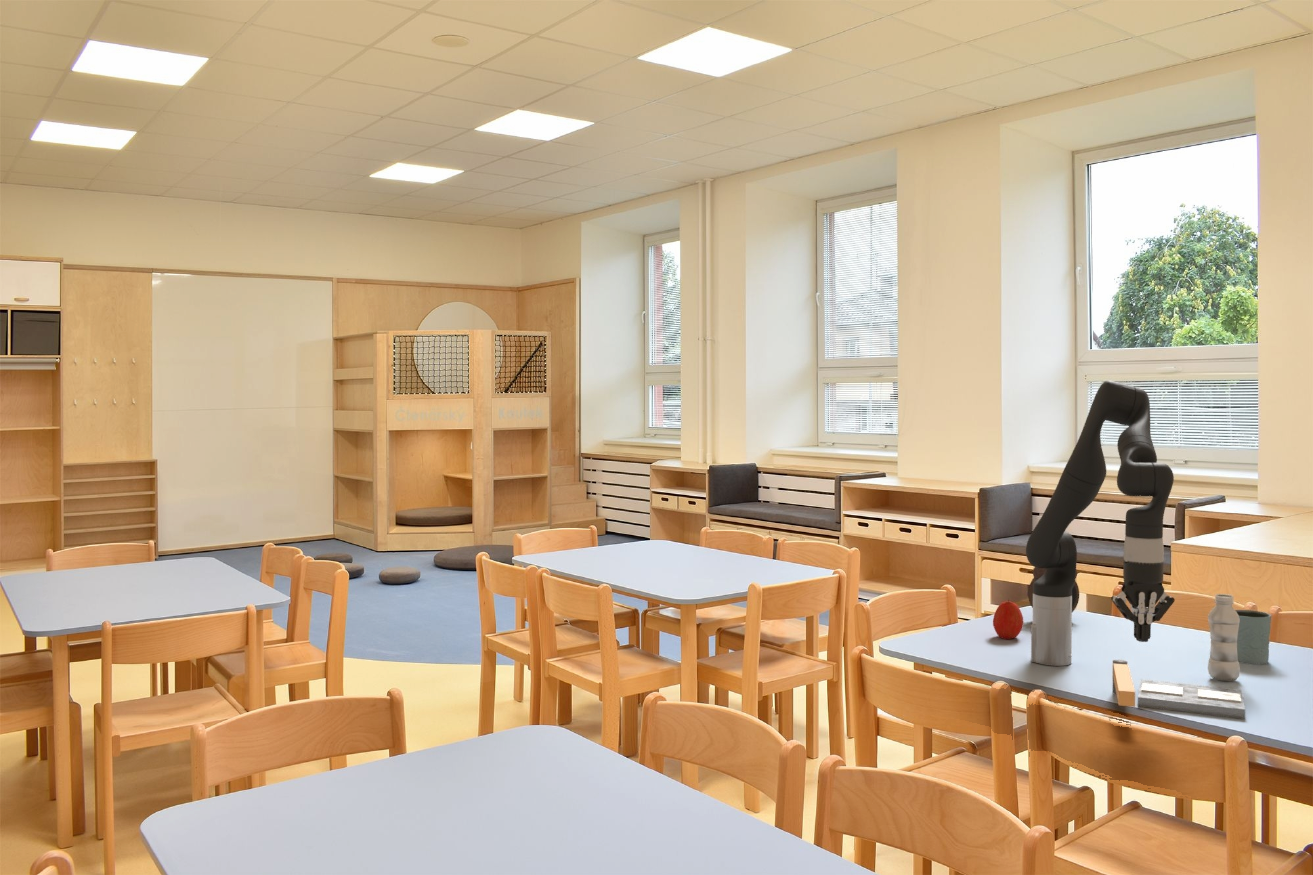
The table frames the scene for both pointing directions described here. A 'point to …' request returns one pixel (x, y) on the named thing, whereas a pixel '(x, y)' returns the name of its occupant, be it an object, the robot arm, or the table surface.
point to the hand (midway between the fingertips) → (1141, 640)
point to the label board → (1191, 698)
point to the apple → (1008, 620)
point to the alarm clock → (1039, 573)
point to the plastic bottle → (1223, 639)
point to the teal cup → (1253, 637)
